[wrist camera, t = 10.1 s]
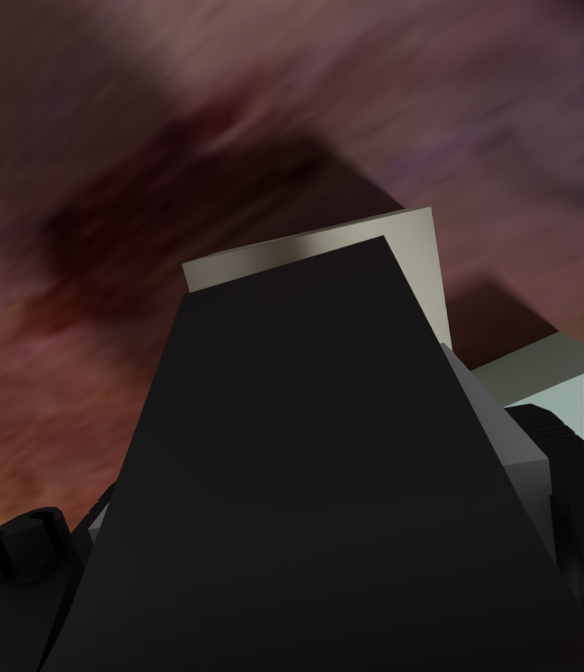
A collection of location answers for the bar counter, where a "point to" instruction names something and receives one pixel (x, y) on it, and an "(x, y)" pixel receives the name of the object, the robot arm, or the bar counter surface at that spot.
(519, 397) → the sage cube
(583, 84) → the bar counter surface
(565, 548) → the robot arm
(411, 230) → the maple block
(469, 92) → the bar counter surface
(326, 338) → the phone stand
